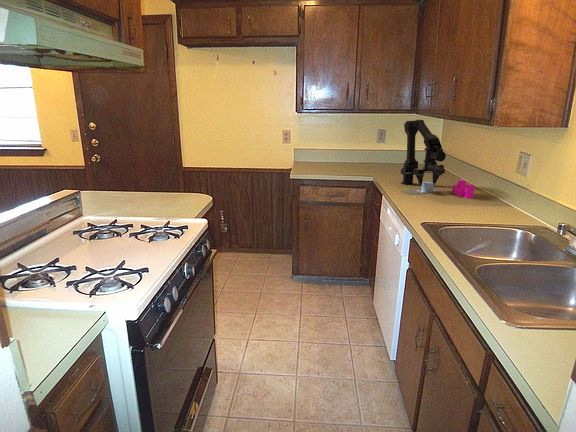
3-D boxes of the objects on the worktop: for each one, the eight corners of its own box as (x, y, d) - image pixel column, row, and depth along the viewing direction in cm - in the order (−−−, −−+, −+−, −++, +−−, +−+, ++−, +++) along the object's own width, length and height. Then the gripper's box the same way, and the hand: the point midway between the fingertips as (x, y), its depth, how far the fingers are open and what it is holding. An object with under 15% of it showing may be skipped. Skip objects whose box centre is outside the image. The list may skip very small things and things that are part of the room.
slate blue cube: (420, 190, 234) (421, 182, 232) (427, 189, 235) (428, 181, 234) (425, 192, 229) (426, 183, 228) (432, 191, 231) (433, 183, 229)
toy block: (451, 192, 231) (453, 179, 229) (462, 192, 231) (464, 180, 229) (461, 198, 217) (463, 185, 214) (472, 198, 216) (474, 185, 214)
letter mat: (400, 191, 232) (400, 190, 232) (432, 188, 239) (432, 188, 239) (409, 194, 224) (409, 194, 224) (442, 192, 231) (442, 191, 231)
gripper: (425, 161, 217) (422, 189, 221) (453, 160, 222) (449, 187, 227) (413, 159, 227) (410, 185, 231) (440, 157, 233) (436, 183, 237)
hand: (427, 185), depth 231 cm, fingers open, 9 cm apart
